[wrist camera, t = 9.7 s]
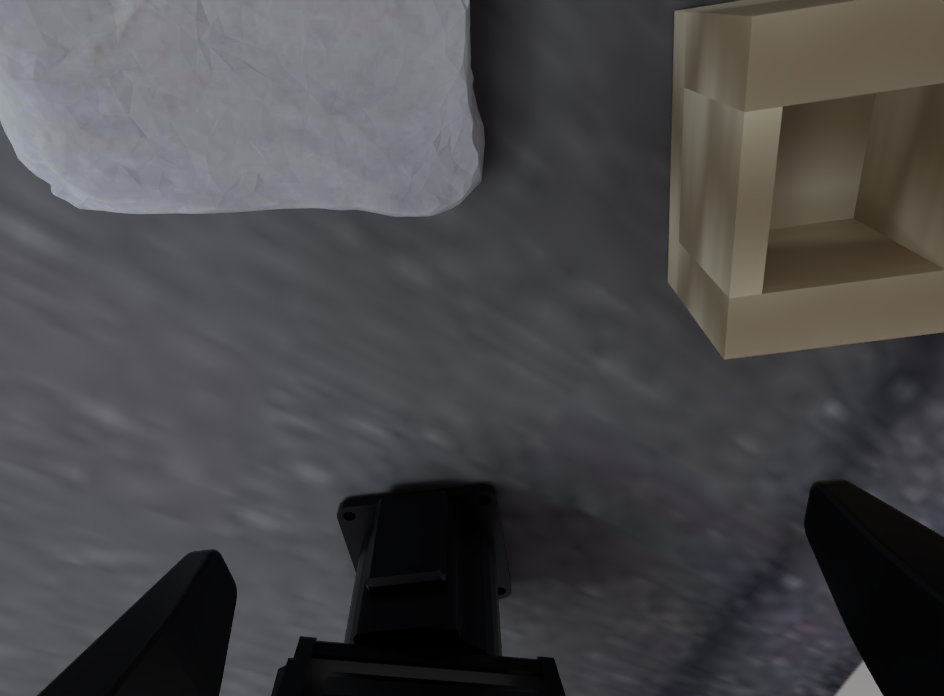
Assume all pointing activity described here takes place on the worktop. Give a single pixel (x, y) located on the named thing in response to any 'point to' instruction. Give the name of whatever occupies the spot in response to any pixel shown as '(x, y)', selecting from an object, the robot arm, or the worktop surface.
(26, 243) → the worktop surface
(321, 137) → the stone block
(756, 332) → the socket block
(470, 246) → the worktop surface
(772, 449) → the worktop surface
